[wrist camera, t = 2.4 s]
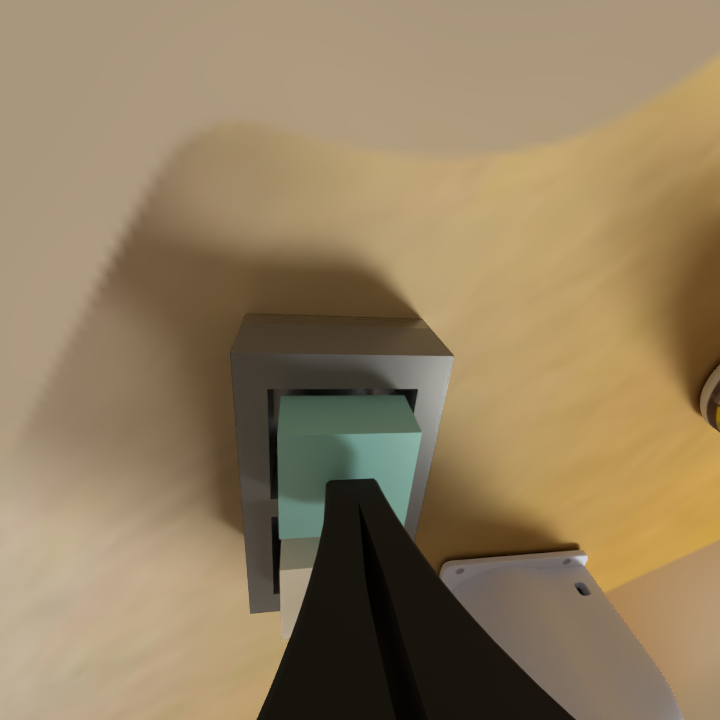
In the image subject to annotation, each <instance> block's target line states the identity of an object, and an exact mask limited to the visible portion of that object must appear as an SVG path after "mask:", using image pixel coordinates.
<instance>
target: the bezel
mask: <svg viewBox="0 0 720 720" xmlns="http://www.w3.org/2000/svg"><path fill="white" fill-rule="evenodd" d="M230 358H231V371H232V384H233V397H234V409H235V422H236V435H237V448H238V461H239V474H240V487H241V500H242V512H243V525H244V538H245V551H246V564H247V577H248V590H249V603H250V614H253V613H263V612H273V611H280V554H281V544H277V533H276V517H279V509H278V455H275V443H274V399H273V389H396V392H395V395H405V397H406V400H407V402H408V404H409V406H410V408H411V410H412V412H413V414H414V416H415V418H416V421H417V423H418V425H419V427H420V429H421V431H422V436H421V441H420V446H419V452H418V457H417V462H416V467H415V472H414V477H413V483H412V488H411V493H410V498H409V503H408V508H407V514H406V519H405V524H404V528H405V530H406V531H407V533H408V534H409V535H410V537H411V538H412V540H413V541H415V536H416V531H417V527H418V522H419V517H420V513H421V508H422V504H423V499H424V494H425V490H426V485H427V480H428V476H429V471H430V467H431V462H432V457H433V453H434V448H435V443H436V439H437V434H438V430H439V425H440V420H441V416H442V411H443V406H444V402H445V397H446V393H447V388H448V383H449V379H450V374H451V369H452V365H453V360H454V355H453V354H452V353H451V352H450V351H449V349H448V348H447V347H446V346H445V345H444V344H443V342H442V341H441V340H440V339H439V338H438V337H437V335H436V334H435V333H434V332H433V331H432V330H431V329H430V328H393V327H356V326H319V325H282V324H246V323H242V325H241V327H240V330H239V332H238V335H237V337H236V340H235V342H234V345H233V347H232V350H231V352H230Z"/></svg>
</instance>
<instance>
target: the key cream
mask: <svg viewBox="0 0 720 720" xmlns="http://www.w3.org/2000/svg"><path fill="white" fill-rule="evenodd" d="M319 541H320V537H307V538H292V539H281V554H280V619H281V639H289V638H290V637H291V634H292V631H293V628H294V626H295V623H296V620H297V617H298V614H299V611H300V608H301V605H302V602H303V599H304V596H305V593H306V590H307V586H308V583H309V579H310V576H311V572H312V569H313V565H314V562H315V558H316V554H317V550H318V546H319Z"/></svg>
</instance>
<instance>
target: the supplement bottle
mask: <svg viewBox="0 0 720 720" xmlns="http://www.w3.org/2000/svg"><path fill="white" fill-rule="evenodd" d="M700 410H701V413H702V416H703V418H704V419H705V421H706V422H707V423H708V424H709V425H710V426H712V427H713V428H714V429H716V430H718V431H719V432H720V364H719V366H718V367H717V368H716V369H715V370H714V371H713V373H712V374H711V375H710V377H709V378H708V380H707V382H706V384H705V386H704V388H703V390H702V393H701V397H700Z"/></svg>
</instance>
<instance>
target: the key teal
mask: <svg viewBox="0 0 720 720" xmlns="http://www.w3.org/2000/svg"><path fill="white" fill-rule="evenodd" d="M421 436H422V431H421V429H420V427H419V425H418V423H417V421H416V418H415V416H414V414H413V412H412V410H411V408H410V406H409V404H408V402H407V400H406V397H405V395H339V396H281V399H280V410H279V421H278V432H277V454H278V509H279V539H292V538H307V537H321V532H322V527H323V522H324V506H325V488H326V483H327V482H328V481H330V480H345V479H369V478H374V479H375V480H376V481H377V482H378V484H379V486H380V488H381V490H382V492H383V494H384V495H385V497H386V499H387V501H388V502H389V504H390V506H391V507H392V509H393V511H394V512H395V514H396V516H397V517H398V519H399V520H400V522H401V523H402V525H403V527H404V524H405V519H406V514H407V508H408V503H409V498H410V493H411V488H412V483H413V477H414V472H415V467H416V462H417V457H418V452H419V446H420V441H421Z"/></svg>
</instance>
